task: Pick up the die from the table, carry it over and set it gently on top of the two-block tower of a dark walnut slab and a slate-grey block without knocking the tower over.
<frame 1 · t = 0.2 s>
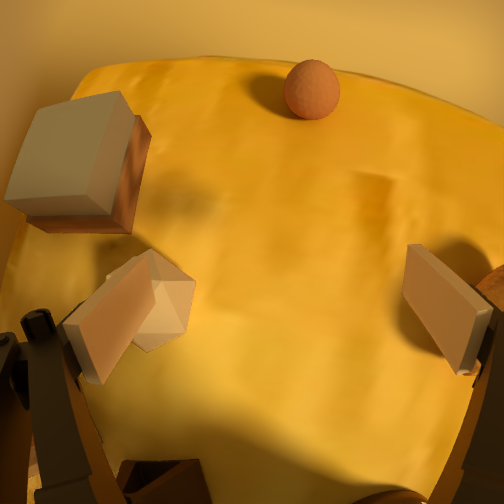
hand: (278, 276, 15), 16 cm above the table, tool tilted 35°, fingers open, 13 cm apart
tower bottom: (97, 185, 35), on the table, touching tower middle
display case: (53, 406, 28), on the table
potato: (476, 318, 28), on the table
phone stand: (167, 482, 26), on the table
egg: (308, 112, 36), on the table
die: (162, 305, 31), on the table
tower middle: (78, 166, 31), point 4 cm above the table, touching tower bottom
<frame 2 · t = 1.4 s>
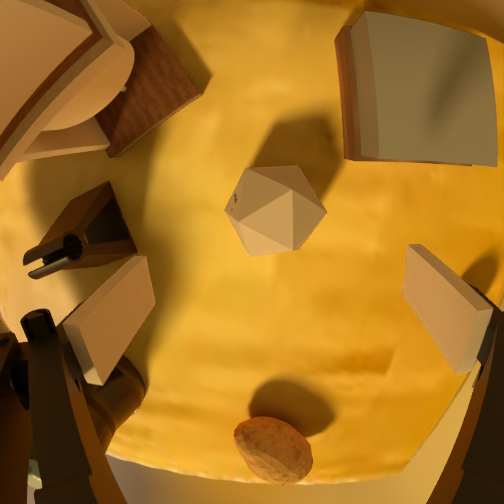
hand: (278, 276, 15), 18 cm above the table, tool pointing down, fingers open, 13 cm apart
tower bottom: (397, 100, 28), on the table, touching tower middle
display case: (135, 89, 29), on the table
potato: (275, 426, 44), on the table
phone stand: (104, 224, 34), on the table
die: (274, 202, 32), on the table
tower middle: (416, 95, 23), point 5 cm above the table, touching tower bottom
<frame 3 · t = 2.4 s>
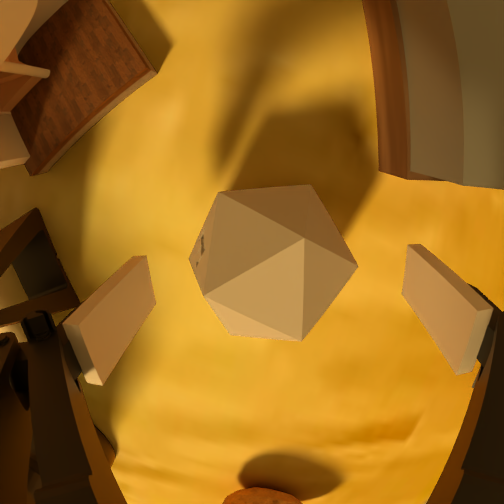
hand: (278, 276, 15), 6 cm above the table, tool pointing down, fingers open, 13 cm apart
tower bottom: (451, 87, 17), on the table
display case: (67, 74, 17), on the table
potato: (271, 492, 33), on the table
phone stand: (38, 265, 23), on the table
die: (269, 240, 21), on the table
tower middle: (489, 81, 12), point 5 cm above the table
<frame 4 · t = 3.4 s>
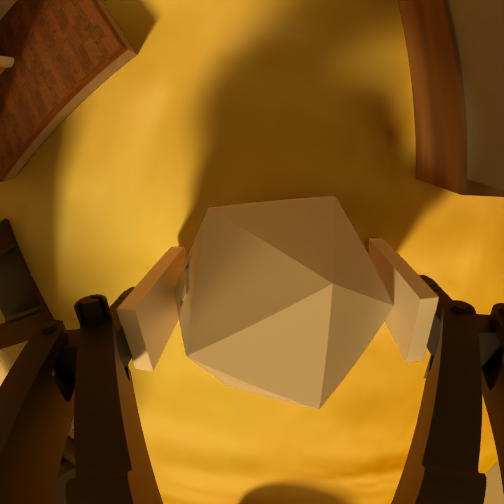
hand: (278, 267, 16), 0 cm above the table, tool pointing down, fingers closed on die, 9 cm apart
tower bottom: (493, 79, 12), on the table
display case: (37, 62, 13), on the table
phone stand: (13, 282, 19), on the table
die: (277, 262, 17), on the table, touching gripper
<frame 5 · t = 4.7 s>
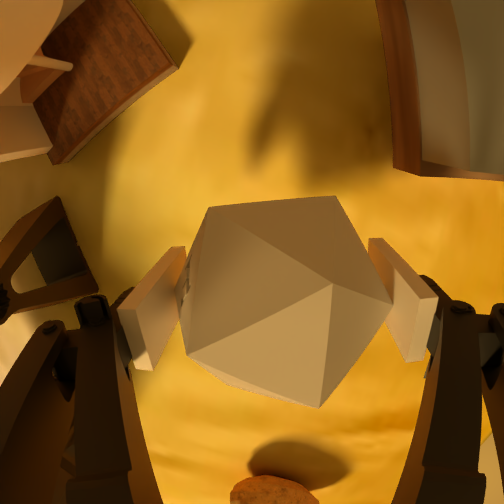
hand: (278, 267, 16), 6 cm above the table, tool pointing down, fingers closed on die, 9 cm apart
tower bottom: (461, 87, 17), on the table, touching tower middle
display case: (89, 67, 18), on the table
potato: (279, 480, 34), on the table
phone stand: (58, 252, 24), on the table
die: (277, 262, 17), point 5 cm above the table, touching gripper
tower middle: (494, 74, 12), point 5 cm above the table, touching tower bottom
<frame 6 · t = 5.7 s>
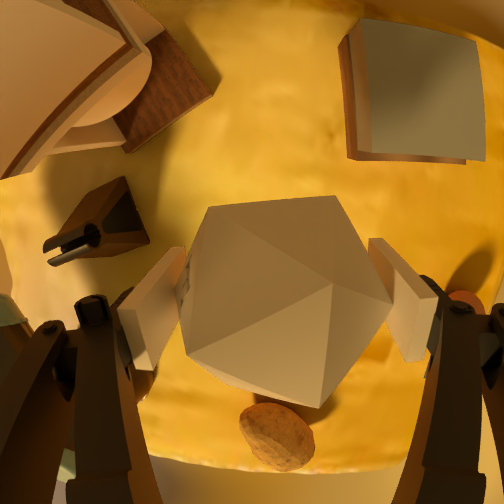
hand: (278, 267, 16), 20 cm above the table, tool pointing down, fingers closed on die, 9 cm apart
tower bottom: (396, 103, 30), on the table, touching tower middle
display case: (149, 89, 31), on the table
potato: (279, 413, 47), on the table
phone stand: (119, 216, 37), on the table
egg: (449, 301, 37), on the table
die: (277, 262, 17), point 19 cm above the table, touching gripper
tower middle: (410, 94, 25), point 5 cm above the table, touching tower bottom
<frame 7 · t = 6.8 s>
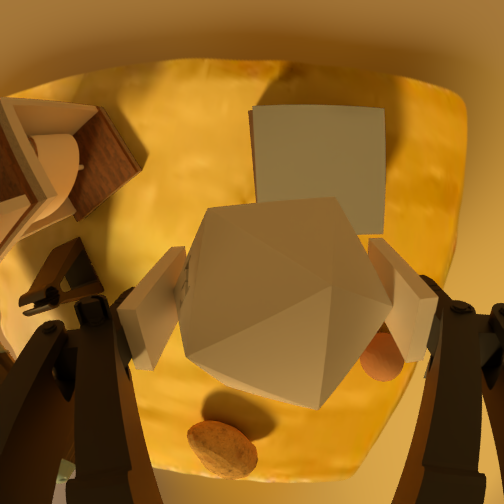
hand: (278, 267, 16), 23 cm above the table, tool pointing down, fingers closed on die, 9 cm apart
display case: (92, 163, 37), on the table
potato: (226, 429, 52), on the table
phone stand: (79, 268, 42), on the table
egg: (374, 340, 44), on the table
die: (277, 263, 17), point 22 cm above the table, touching gripper
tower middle: (315, 166, 31), point 5 cm above the table, touching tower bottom
when the fingers open (11 cm above the table, at t = 10.0 s): die drops 2 cm, resting on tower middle.
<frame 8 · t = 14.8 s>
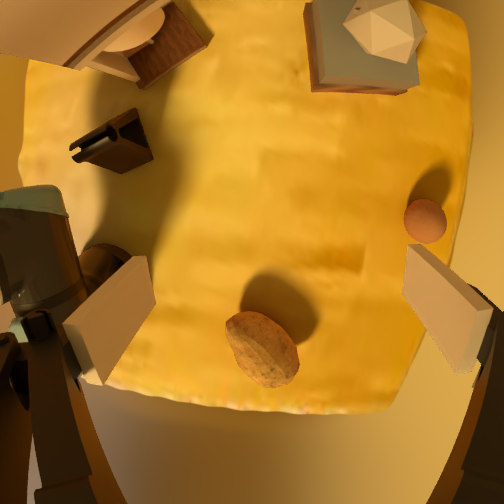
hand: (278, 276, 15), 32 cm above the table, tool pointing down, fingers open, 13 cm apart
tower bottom: (350, 53, 37), on the table
display case: (159, 44, 38), on the table
potato: (264, 331, 54), on the table
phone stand: (129, 140, 44), on the table
egg: (414, 214, 45), on the table
die: (375, 37, 28), point 9 cm above the table, touching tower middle
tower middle: (359, 45, 33), point 4 cm above the table, touching die
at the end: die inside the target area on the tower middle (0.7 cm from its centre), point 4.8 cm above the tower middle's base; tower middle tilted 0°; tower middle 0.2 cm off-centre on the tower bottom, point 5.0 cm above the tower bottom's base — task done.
